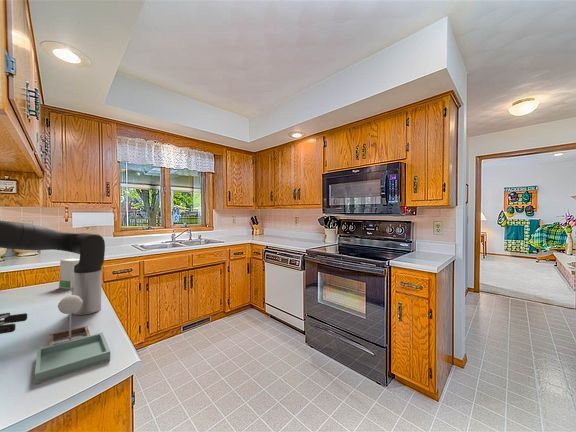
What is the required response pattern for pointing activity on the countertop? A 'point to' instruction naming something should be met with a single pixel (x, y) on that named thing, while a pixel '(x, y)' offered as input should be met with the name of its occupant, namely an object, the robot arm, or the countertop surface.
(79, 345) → the tray
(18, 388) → the countertop surface
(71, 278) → the skincare box
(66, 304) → the lollipop
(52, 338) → the square wooden frame
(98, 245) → the robot arm
